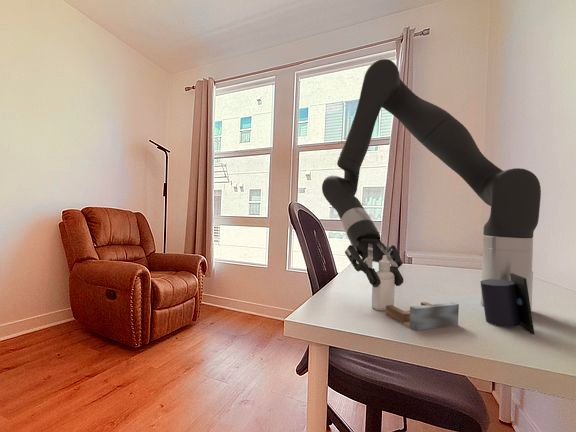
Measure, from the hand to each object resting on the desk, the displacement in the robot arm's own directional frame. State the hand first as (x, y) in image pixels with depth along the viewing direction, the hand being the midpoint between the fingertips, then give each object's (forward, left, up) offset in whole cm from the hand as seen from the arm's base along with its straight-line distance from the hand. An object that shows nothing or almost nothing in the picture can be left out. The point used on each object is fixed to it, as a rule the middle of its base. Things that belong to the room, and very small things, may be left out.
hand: (389, 284), depth 58 cm
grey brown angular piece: (-3, +6, -6) cm, 9 cm away
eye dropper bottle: (0, -2, -6) cm, 6 cm away
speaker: (-18, +12, -6) cm, 23 cm away
